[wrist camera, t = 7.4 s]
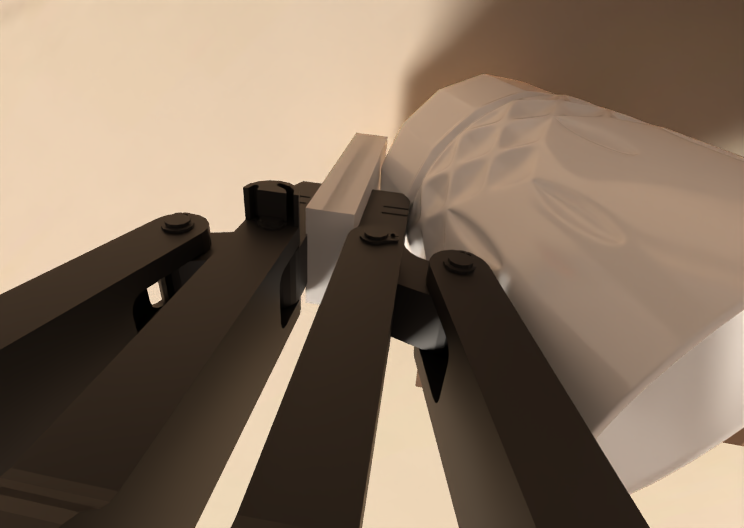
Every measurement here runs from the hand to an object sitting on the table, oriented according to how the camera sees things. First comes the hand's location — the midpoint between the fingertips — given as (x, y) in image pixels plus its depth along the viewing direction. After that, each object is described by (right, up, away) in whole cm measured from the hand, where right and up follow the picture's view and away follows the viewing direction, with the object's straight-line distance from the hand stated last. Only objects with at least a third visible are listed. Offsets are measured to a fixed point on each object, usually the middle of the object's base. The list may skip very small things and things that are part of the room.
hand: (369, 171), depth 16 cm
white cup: (+3, 0, 0) cm, 3 cm away
